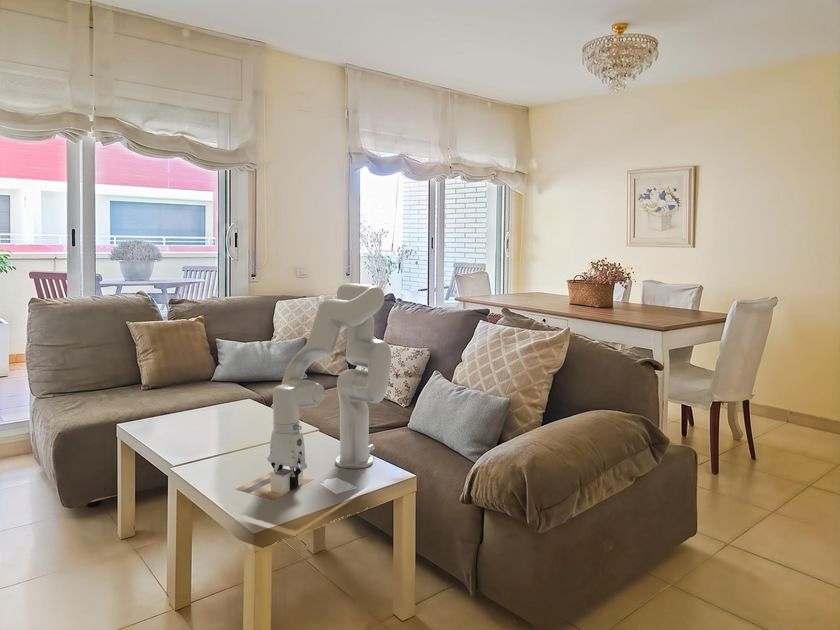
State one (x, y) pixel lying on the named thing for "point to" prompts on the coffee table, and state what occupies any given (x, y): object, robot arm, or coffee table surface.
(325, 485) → the hard drive
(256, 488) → the subfloor board
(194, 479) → the coffee table surface
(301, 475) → the stud finder
